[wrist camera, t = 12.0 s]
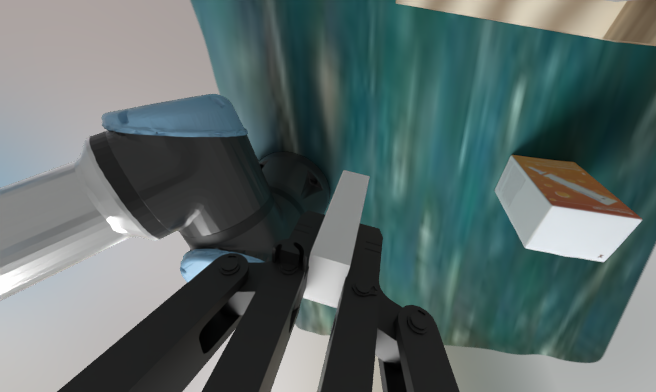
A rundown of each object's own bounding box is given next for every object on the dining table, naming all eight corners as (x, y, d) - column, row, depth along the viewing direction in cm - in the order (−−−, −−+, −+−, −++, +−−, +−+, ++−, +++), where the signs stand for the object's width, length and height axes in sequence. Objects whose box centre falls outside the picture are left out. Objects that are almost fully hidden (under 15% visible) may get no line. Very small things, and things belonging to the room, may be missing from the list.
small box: (575, 160, 36) (646, 219, 25) (551, 199, 39) (605, 264, 29) (510, 152, 37) (552, 205, 27) (492, 190, 41) (523, 250, 30)
